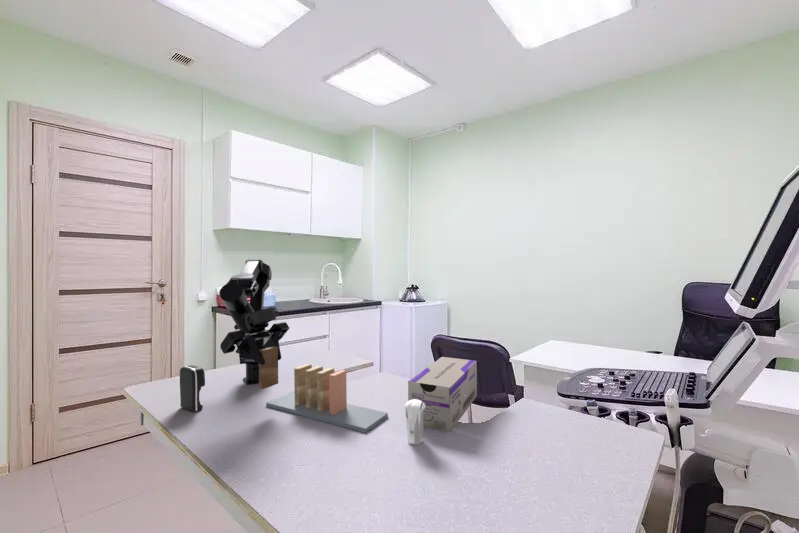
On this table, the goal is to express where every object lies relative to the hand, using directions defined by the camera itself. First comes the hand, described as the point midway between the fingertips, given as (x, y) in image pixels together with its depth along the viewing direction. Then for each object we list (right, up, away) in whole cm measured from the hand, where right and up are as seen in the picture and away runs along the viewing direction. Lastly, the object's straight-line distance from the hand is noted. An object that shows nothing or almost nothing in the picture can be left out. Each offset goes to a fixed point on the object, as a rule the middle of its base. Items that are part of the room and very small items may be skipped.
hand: (272, 361), depth 100 cm
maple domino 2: (+11, -12, +2) cm, 17 cm away
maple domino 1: (+7, -12, +4) cm, 15 cm away
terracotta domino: (+18, -12, -1) cm, 22 cm away
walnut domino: (-1, -7, +1) cm, 7 cm away
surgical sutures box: (+46, -14, +2) cm, 48 cm away
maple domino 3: (+14, -12, +1) cm, 19 cm away
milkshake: (+37, -14, -16) cm, 43 cm away
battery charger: (-23, -14, +4) cm, 27 cm away
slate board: (+14, -13, +1) cm, 19 cm away
